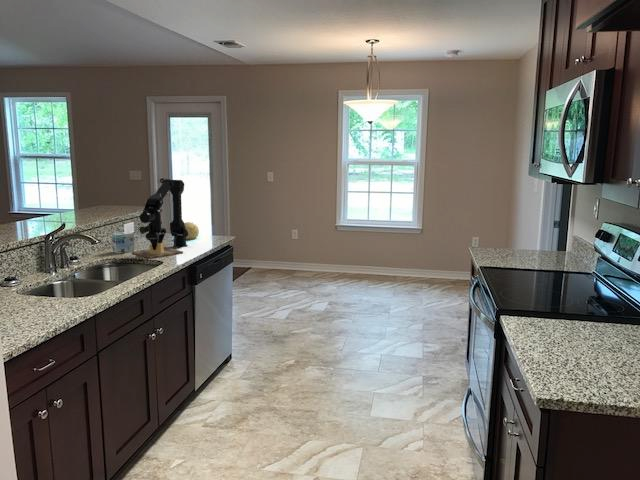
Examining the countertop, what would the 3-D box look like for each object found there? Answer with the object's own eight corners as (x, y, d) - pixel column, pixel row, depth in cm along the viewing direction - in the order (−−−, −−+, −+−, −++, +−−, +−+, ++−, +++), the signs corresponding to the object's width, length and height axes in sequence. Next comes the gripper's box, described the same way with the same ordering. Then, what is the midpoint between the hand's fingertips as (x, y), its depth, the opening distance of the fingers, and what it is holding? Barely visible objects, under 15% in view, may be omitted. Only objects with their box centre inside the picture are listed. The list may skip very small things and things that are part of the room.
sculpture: (176, 239, 328) (176, 223, 326) (186, 236, 339) (186, 220, 337) (192, 240, 325) (191, 223, 323) (202, 237, 336) (201, 221, 334)
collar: (153, 251, 286) (152, 242, 285) (164, 251, 286) (163, 242, 285) (150, 253, 280) (149, 245, 279) (161, 253, 280) (160, 245, 279)
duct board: (164, 248, 300) (164, 246, 300) (183, 253, 287) (183, 251, 287) (132, 253, 286) (132, 251, 286) (150, 258, 273) (150, 257, 273)
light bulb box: (116, 253, 285) (115, 234, 283) (112, 251, 290) (111, 233, 288) (135, 251, 292) (134, 232, 290) (131, 249, 297) (130, 231, 295)
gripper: (145, 218, 289) (147, 245, 291) (135, 223, 270) (136, 251, 273) (165, 218, 289) (167, 245, 292) (156, 223, 271) (157, 251, 273)
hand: (156, 248), depth 283 cm, fingers open, 9 cm apart
